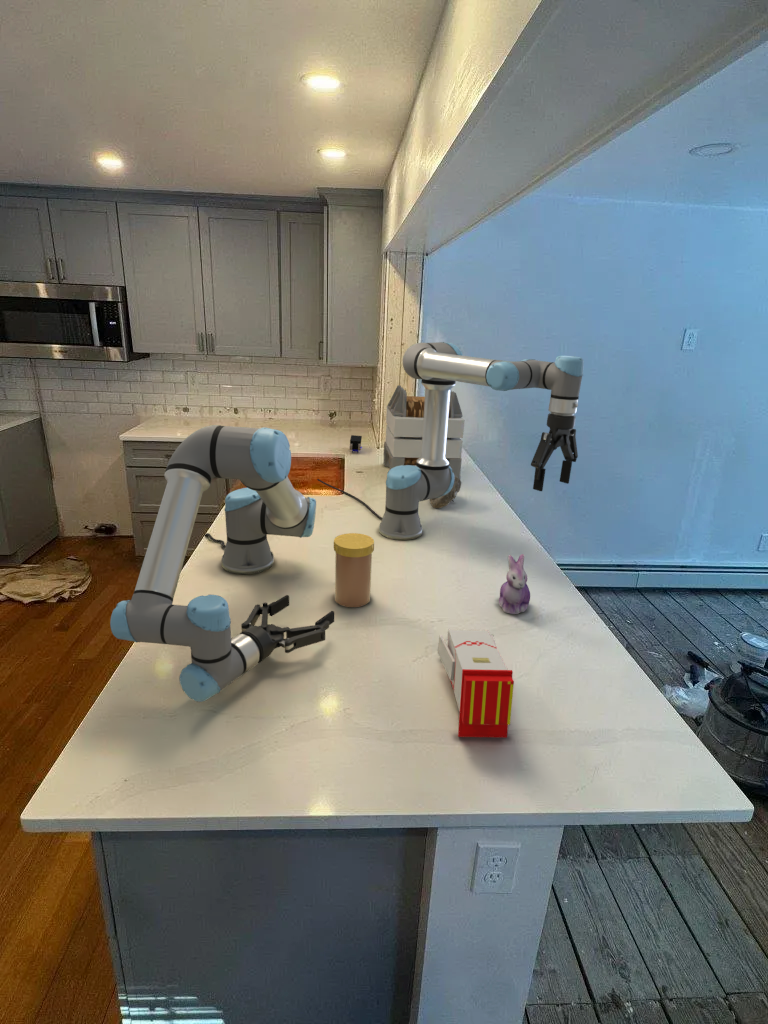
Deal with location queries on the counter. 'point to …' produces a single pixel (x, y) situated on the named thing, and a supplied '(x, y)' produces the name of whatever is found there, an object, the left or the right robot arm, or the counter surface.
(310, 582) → the counter surface
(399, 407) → the white wooden crate
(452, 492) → the fossil
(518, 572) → the figurine
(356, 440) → the figurine character
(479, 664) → the toy
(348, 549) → the lid
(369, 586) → the jar
